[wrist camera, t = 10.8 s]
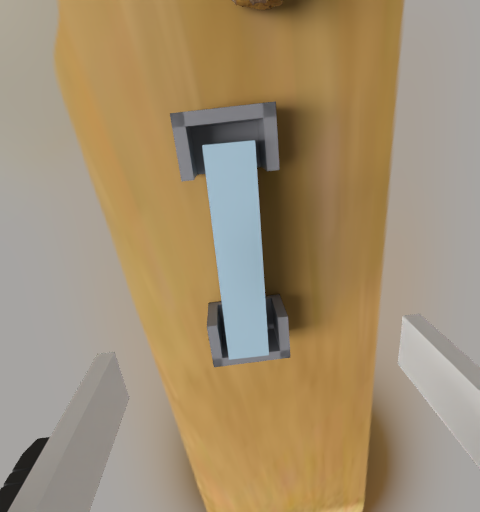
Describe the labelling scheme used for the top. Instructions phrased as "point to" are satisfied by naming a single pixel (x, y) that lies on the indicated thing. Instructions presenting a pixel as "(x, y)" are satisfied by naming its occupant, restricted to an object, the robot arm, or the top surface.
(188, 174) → the end caps
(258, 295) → the slat
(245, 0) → the rock
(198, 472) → the top surface
